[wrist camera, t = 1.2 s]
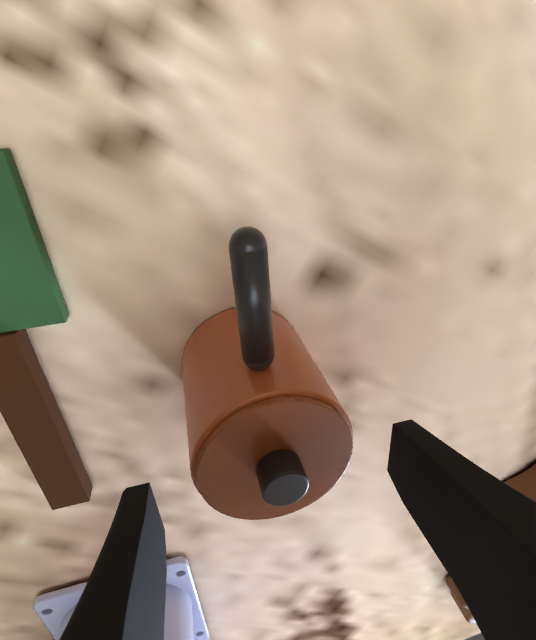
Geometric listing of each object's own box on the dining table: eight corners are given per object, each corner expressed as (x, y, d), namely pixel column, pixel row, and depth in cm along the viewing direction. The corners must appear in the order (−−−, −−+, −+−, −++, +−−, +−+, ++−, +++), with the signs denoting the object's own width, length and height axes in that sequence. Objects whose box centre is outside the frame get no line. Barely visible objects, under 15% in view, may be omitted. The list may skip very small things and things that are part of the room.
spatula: (128, 478, 18) (126, 492, 18) (18, 504, 17) (12, 520, 17) (9, 148, 11) (0, 150, 11) (-181, 164, 11) (-205, 167, 10)
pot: (301, 394, 18) (366, 523, 13) (192, 418, 18) (208, 568, 12) (294, 188, 14) (391, 241, 8) (147, 206, 13) (135, 280, 7)
